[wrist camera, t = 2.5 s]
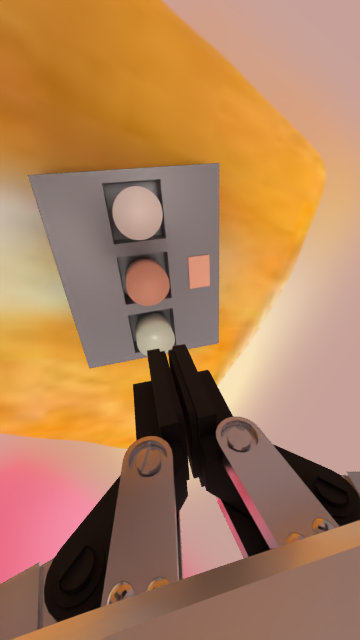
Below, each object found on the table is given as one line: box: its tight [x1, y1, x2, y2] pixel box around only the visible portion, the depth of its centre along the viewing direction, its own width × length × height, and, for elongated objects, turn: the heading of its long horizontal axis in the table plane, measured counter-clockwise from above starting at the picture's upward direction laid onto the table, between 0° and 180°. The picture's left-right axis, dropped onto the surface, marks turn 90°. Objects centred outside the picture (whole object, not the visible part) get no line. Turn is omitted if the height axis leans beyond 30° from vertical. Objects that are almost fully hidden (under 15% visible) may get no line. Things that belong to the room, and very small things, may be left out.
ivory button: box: [112, 186, 163, 240], centre depth 18 cm, size 4×4×2 cm
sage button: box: [135, 313, 175, 356], centre depth 24 cm, size 4×4×2 cm
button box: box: [28, 163, 219, 368], centre depth 23 cm, size 17×14×3 cm
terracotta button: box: [125, 258, 170, 306], centre depth 21 cm, size 4×4×2 cm
